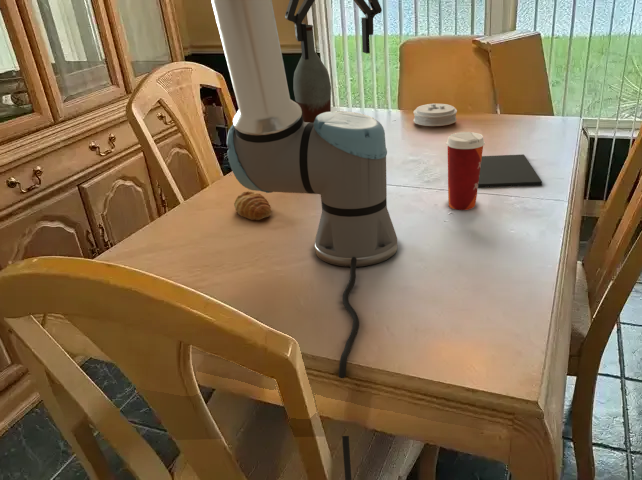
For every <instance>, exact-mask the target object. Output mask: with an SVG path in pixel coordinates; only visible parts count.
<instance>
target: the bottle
mask: <svg viewBox="0 0 642 480" xmlns="http://www.w3.org/2000/svg"><path fill="white" fill-rule="evenodd" d="M306 31H307V43H308V56H309V59H307V60H305V59H303V58H302V55H301V57H300V58H299V61H298V63H297V65H296V67H295V70H294V72H293V88H292V89H293V94H294V101H295V102H296V103H297V104H298V105H299V106H300V108H301V111H302V116H303V121H304V122H310V123H314V121H315V118H316V117H317V116H318V115H319V114H321V113H324V112H332V103H331V102H332V101H331V100H332V83H331V78H330V74H329V70H328V69H327V67H326V66H325V64H324V62H323V61H322V59H321V58H320V57H319V55H318V54H317V52H316V47H315V38H314V25H313V24H306Z"/></svg>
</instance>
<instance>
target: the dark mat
mask: <svg viewBox="0 0 642 480" xmlns="http://www.w3.org/2000/svg"><path fill="white" fill-rule="evenodd" d="M542 185H543V180H542V179H541V177H540V176H539V175H538V174H537V171H536V170H535V169H534V167H533V166H532V164H531V163H530V161H529V160H528V158H527V156H526V155H525V154H522V153H521V154H504V155H503V154H501V155H482V159H481V167H480V175H479V182H478V189H480V188H505V187H528V186H529V187H531V186H542Z"/></svg>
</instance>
